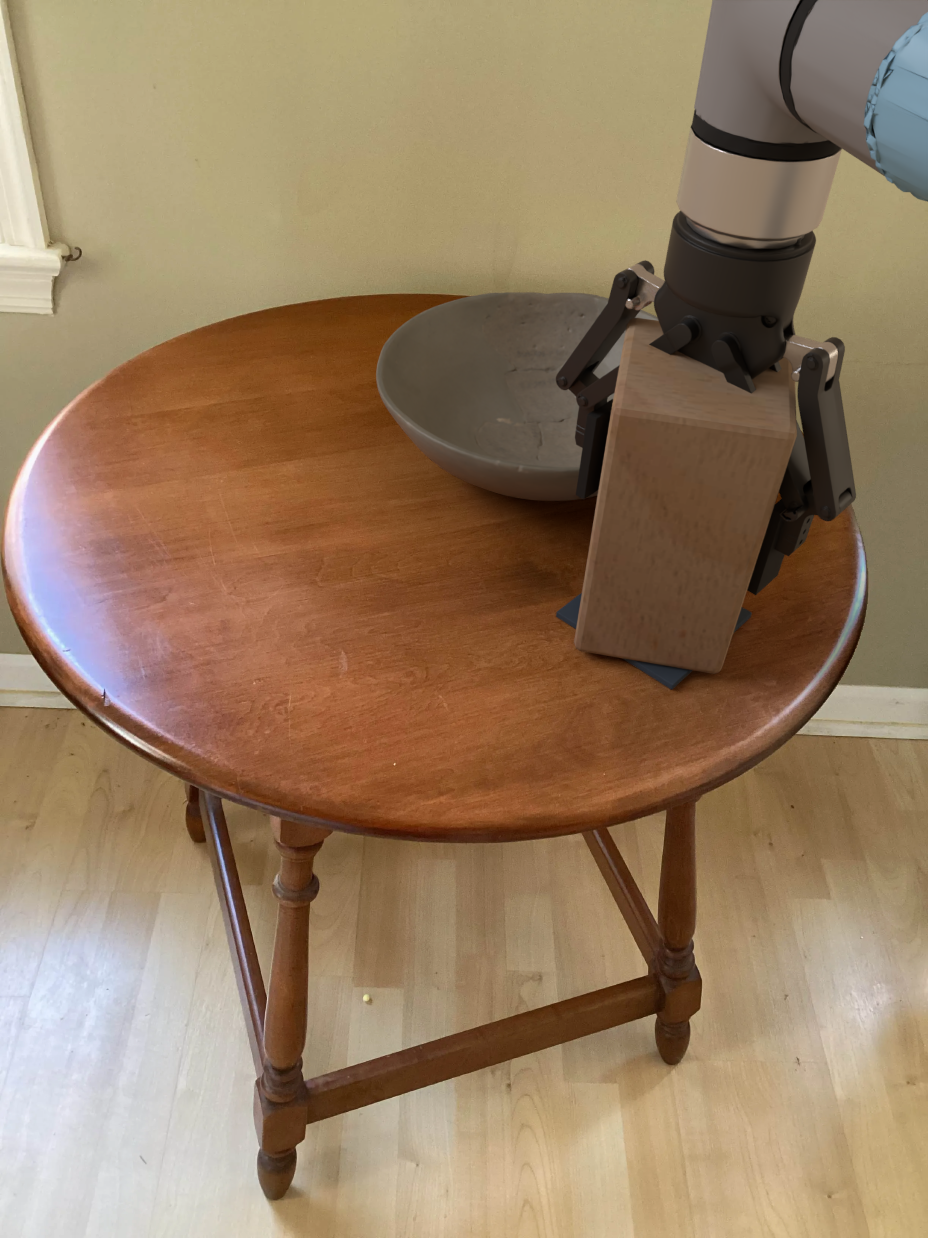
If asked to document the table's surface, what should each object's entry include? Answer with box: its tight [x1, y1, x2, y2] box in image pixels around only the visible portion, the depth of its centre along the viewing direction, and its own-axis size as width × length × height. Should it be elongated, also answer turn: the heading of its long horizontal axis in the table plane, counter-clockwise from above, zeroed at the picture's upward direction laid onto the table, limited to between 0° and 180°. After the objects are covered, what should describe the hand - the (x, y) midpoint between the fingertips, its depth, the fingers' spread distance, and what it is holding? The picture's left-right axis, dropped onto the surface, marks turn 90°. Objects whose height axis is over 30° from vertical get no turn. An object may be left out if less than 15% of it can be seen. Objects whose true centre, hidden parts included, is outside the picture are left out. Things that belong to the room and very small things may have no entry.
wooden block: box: [573, 318, 797, 675], centre depth 67 cm, size 10×10×20 cm
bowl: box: [375, 291, 659, 502], centre depth 86 cm, size 27×28×8 cm
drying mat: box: [555, 592, 753, 690], centre depth 74 cm, size 10×10×1 cm
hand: (672, 534), depth 69 cm, fingers closed on wooden block, 13 cm apart
